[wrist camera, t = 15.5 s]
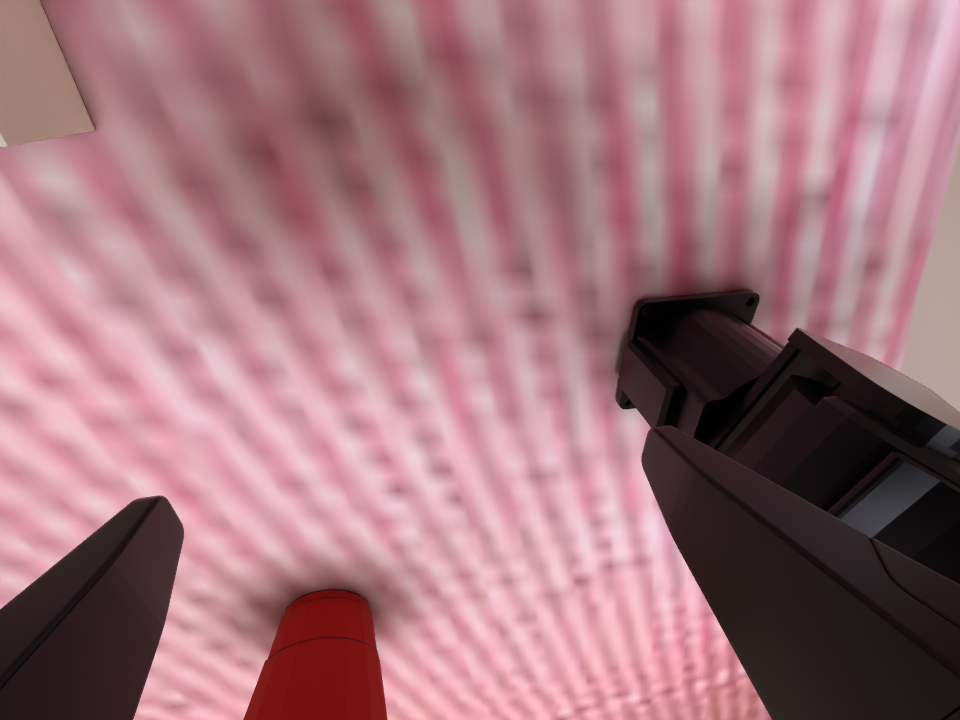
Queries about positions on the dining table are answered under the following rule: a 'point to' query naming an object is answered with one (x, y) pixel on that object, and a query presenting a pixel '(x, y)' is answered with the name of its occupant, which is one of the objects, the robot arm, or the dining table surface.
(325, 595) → the plastic cup
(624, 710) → the dining table surface
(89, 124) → the white square frame
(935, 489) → the robot arm
